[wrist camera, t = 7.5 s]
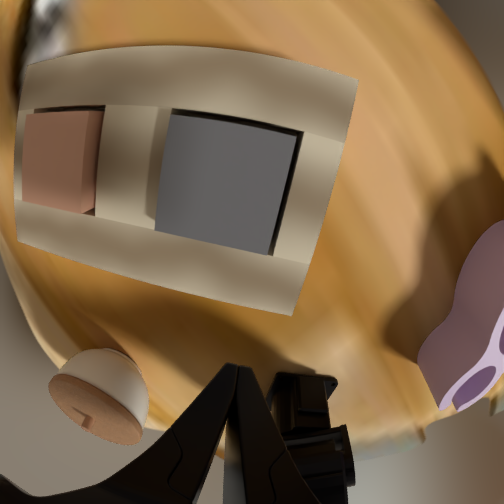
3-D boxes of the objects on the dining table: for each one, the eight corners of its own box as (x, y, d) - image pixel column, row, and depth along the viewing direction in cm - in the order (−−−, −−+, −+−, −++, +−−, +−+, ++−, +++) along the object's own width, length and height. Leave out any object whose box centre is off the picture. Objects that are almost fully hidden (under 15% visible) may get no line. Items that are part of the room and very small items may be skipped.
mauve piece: (453, 373, 25) (473, 412, 19) (392, 356, 24) (414, 408, 17) (541, 242, 17) (577, 267, 11) (500, 184, 16) (552, 205, 10)
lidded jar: (166, 404, 29) (145, 467, 20) (93, 382, 29) (64, 433, 20) (155, 344, 24) (118, 420, 16) (70, 321, 25) (24, 376, 16)
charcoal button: (268, 230, 18) (267, 255, 14) (177, 210, 17) (154, 230, 14) (290, 137, 15) (296, 136, 12) (193, 119, 15) (170, 114, 11)
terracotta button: (113, 198, 17) (80, 214, 14) (56, 188, 17) (22, 201, 14) (123, 113, 15) (89, 110, 11) (62, 113, 15) (26, 114, 11)
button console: (288, 280, 21) (291, 315, 16) (49, 223, 20) (17, 241, 16) (338, 93, 15) (358, 80, 11) (62, 70, 15) (27, 65, 10)
